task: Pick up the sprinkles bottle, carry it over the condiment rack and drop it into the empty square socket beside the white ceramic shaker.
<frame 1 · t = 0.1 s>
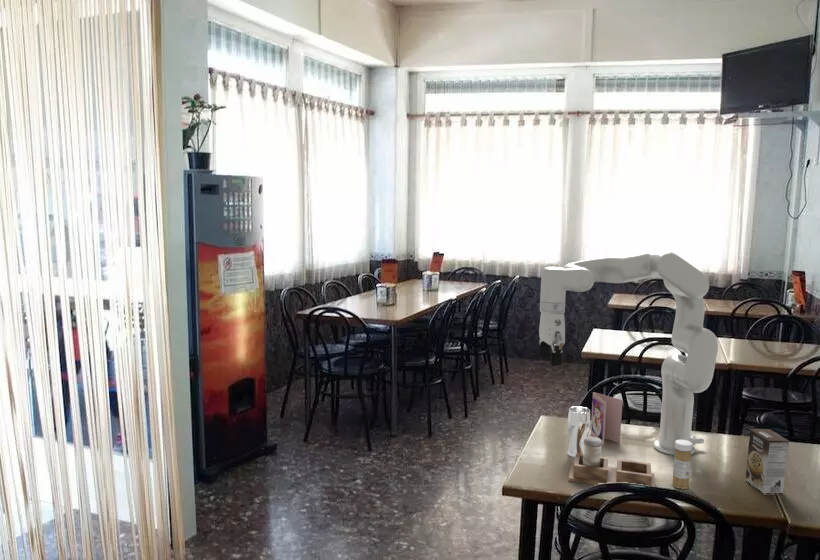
hand: (549, 361, 209), 31 cm above the table, tool pointing down, fingers open, 9 cm apart
beer glass: (577, 455, 215), on the table
sprinkles bottle: (680, 487, 193), on the table
condiment rack: (611, 478, 197), on the table
greeting card: (604, 440, 228), on the table
coffee box: (763, 488, 194), on the table
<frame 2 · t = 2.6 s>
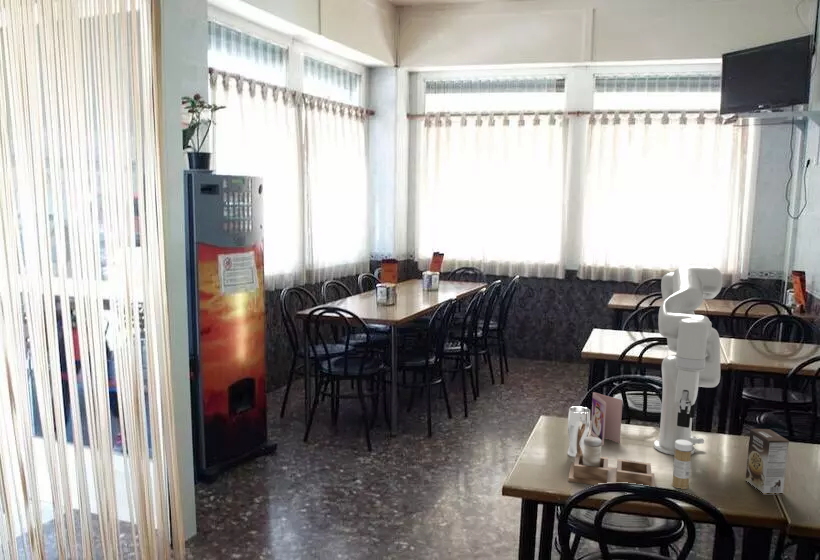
hand: (685, 421, 190), 20 cm above the table, tool pointing down, fingers open, 9 cm apart
nothing on the table moved.
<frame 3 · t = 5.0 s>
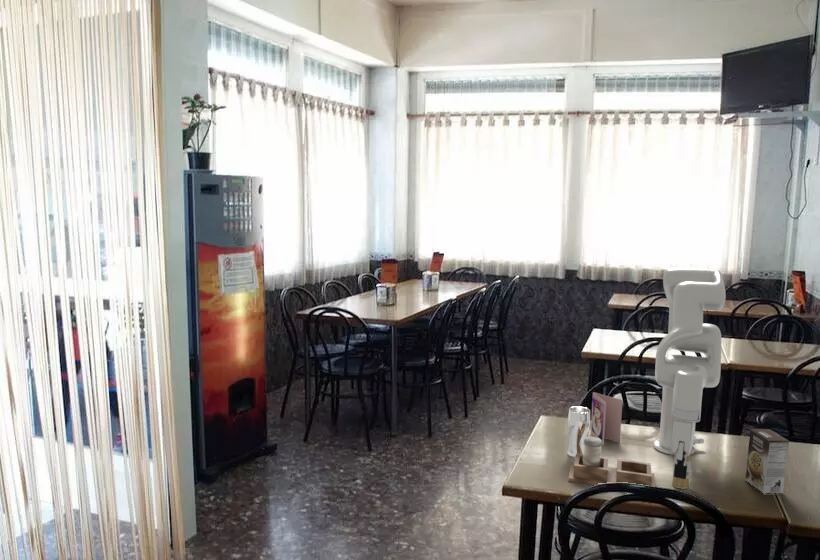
hand: (681, 473, 193), 4 cm above the table, tool pointing down, fingers closed on sprinkles bottle, 4 cm apart
sprinkles bottle: (680, 487, 193), on the table, touching gripper
everything else where it was.
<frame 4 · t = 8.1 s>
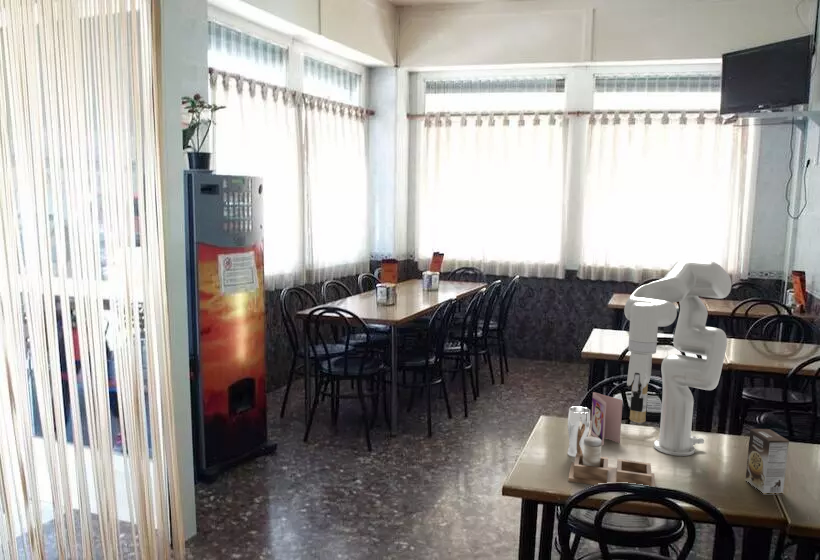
hand: (638, 407, 193), 23 cm above the table, tool pointing down, fingers closed on sprinkles bottle, 4 cm apart
sprinkles bottle: (637, 421, 193), point 18 cm above the table, touching gripper
everything else where it was.
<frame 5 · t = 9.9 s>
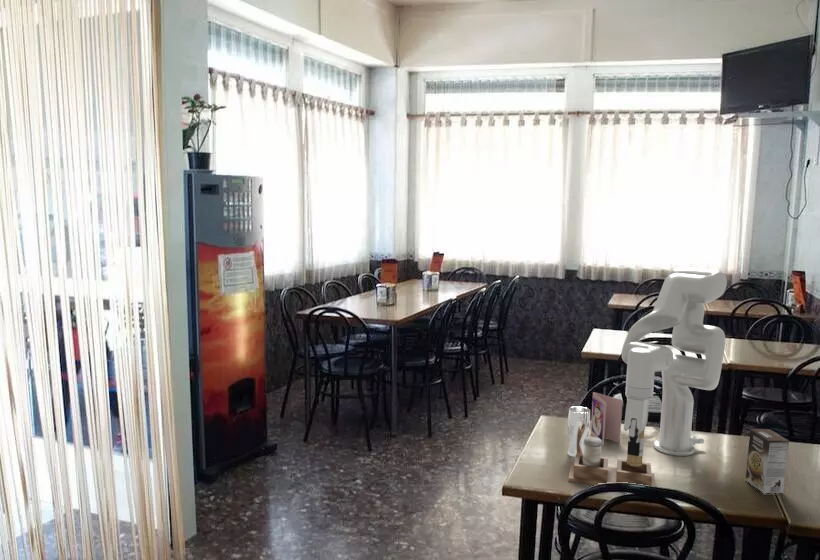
hand: (635, 451, 194), 9 cm above the table, tool pointing down, fingers closed on sprinkles bottle, 4 cm apart
sprinkles bottle: (634, 464, 195), point 5 cm above the table, touching gripper
everything else where it was.
when the fingers open (6 cm above the table, at t = 11.4 s): sprinkles bottle drops 1 cm, resting on condiment rack.
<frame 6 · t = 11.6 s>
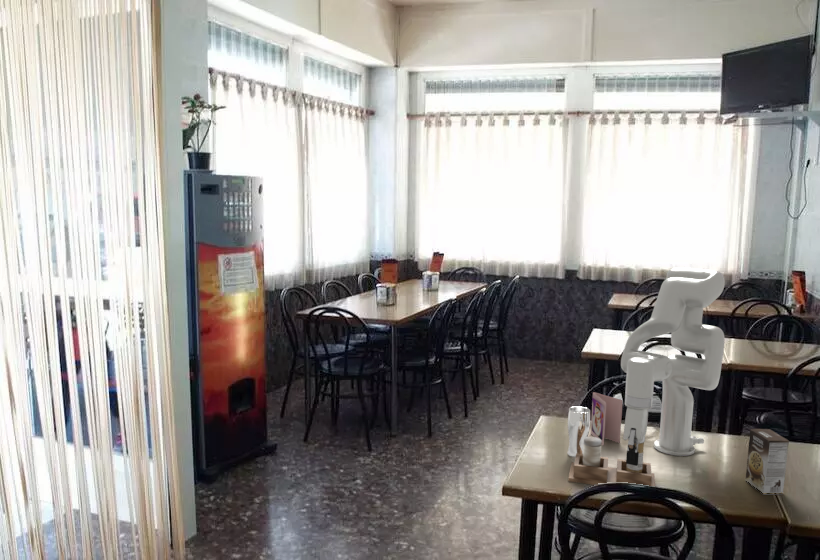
hand: (634, 459, 195), 7 cm above the table, tool pointing down, fingers open, 6 cm apart
sprinkles bottle: (633, 479, 196), point 1 cm above the table, touching condiment rack
everything else where it was.
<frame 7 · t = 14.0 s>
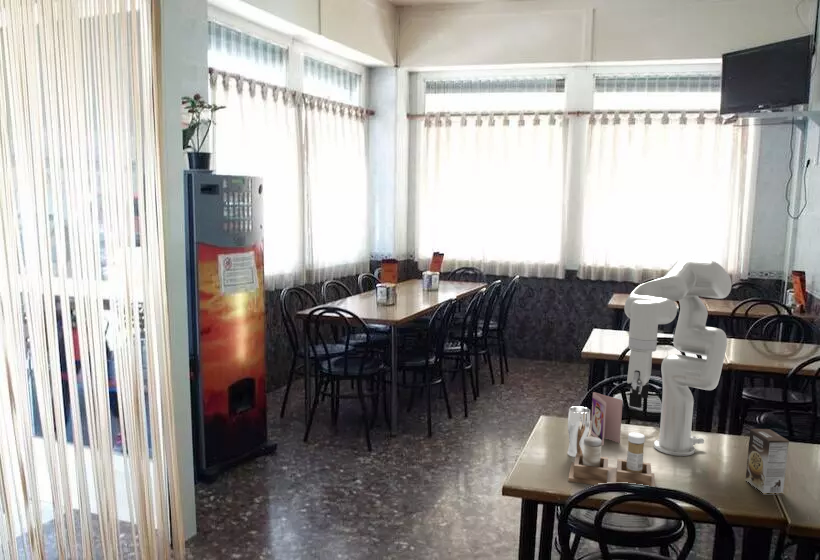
hand: (638, 402, 192), 24 cm above the table, tool pointing down, fingers open, 9 cm apart
nothing on the table moved.
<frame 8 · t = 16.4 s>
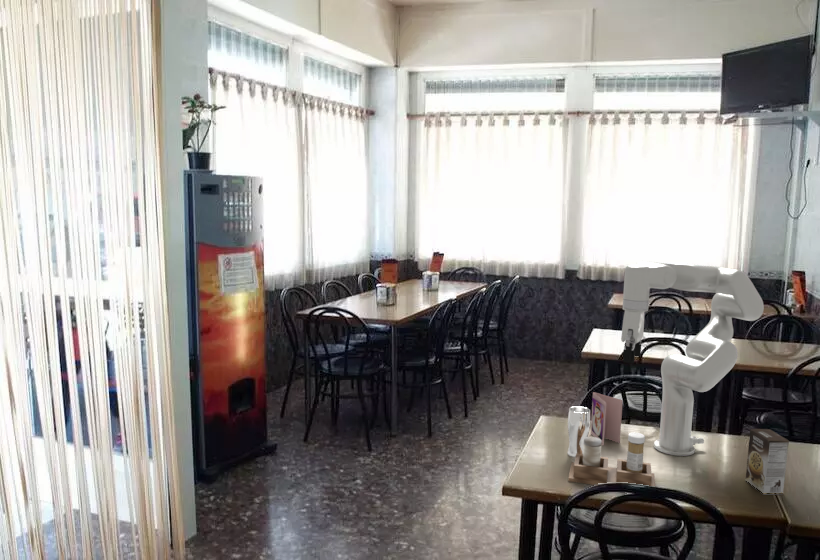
hand: (631, 359, 208), 32 cm above the table, tool pointing down, fingers open, 9 cm apart
nothing on the table moved.
at the end: sprinkles bottle 0.1 cm from the target spot on the condiment rack, point 0.8 cm above the condiment rack's base; sprinkles bottle tilted 0°; the gripper is holding nothing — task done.
